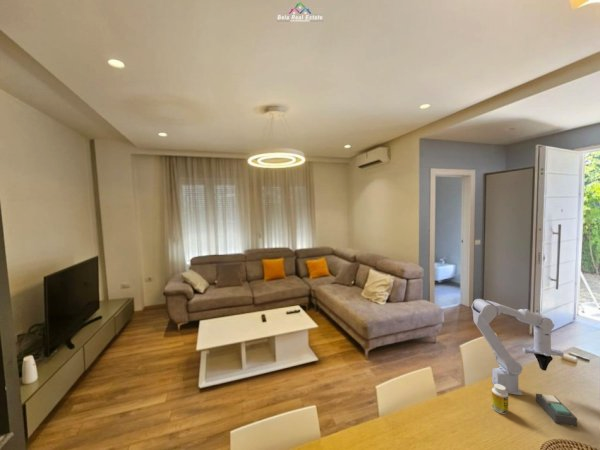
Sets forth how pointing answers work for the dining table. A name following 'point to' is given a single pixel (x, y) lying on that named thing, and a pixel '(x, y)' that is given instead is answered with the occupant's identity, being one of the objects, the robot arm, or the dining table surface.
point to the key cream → (550, 399)
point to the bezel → (556, 416)
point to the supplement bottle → (500, 399)
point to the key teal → (559, 409)
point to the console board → (554, 420)
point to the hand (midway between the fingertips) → (542, 369)
